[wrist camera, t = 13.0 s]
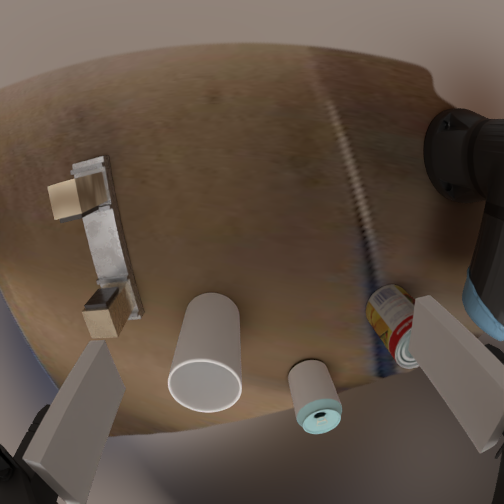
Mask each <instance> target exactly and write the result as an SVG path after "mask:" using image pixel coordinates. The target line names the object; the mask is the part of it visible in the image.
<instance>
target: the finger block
mask: <svg viewBox="0 0 504 504" xmlns="http://www.w3.org/2000/svg"><path fill="white" fill-rule="evenodd" d="M48 191H49V196H50V201H51V206H52V210H53V215H54V219H55V220H56V219H60V223H63V222H68V221H72V220H76V219H81V218H83V217H85V216H87V215H89V214H91V213H93V212H95V211H97V210H99V207H98V205H100V204H102V203H104V202H106V201H108V199H107V194H106V189H105V184H104V178H103V173H102V172H99V173H95V174H91V175H87V176H83V177H79V178H75V179H71V180H68V181H64V182H61V183H58V184H54V185H51V186H48Z"/></svg>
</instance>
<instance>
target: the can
mask: <svg viewBox="0 0 504 504" xmlns="http://www.w3.org/2000/svg"><path fill="white" fill-rule="evenodd" d="M288 381H289V386H290V391H291V395H292V400H293V404H294V409H295V414H296V418H297V422H298V423H299V425H300V426H302V427H303V429H304V430H305V431H306V432H308V433H311V434H321V433H325V432H328V431H330V430H332V429H333V428H335V427H336V426H337V425H338V424H339V422H340V420H341V413H342V406H341V403H340V400H339V398H338V395H337V392H336V390H335V387H334V384H333V382H332V379H331V377H330V374H329V371H328V369H327V367H326V365H325V364H324V363H322V362H320V361H317V360H307V361H303V362H301V363H299V364H297V365H296V366H294V367H293V368H292V369H291V371H290V372H289V375H288Z"/></svg>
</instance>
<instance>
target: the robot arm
mask: <svg viewBox="0 0 504 504" xmlns="http://www.w3.org/2000/svg"><path fill="white" fill-rule="evenodd" d="M424 160H425V166H426V170H427V173H428V176H429V178H430V180H431V182H432V184H433V185H434V187H435V188H436V189H437V191H438V192H439V193H440V194H442V195H443V196H444V197H446V198H448V199H450V200H453V201H456V202H459V203H473V202H478V201H483V200H486V204H485V209H484V213H483V218H482V222H481V227H480V231H479V235H478V239H477V243H476V246H475V250H474V253H473V257H472V260H471V263H470V266H469V267H468V270H467V279H466V282H465V286H464V289H463V293H462V301H463V305H464V307H465V310H466V312H467V314H468V315H469V317H470V318H471V319H472V320H473V322H474V323H475V324H476V325H477V326H478V327H480V328H481V329H482V330H483V331H484V332H486V333H487V334H489V335H490V336H492V337H493V338H495V339H497V340H499V341H502V340H503V341H504V119H488V118H486V117H484V116H481V115H479V114H477V113H475V112H473V111H470V110H467V109H461V108H458V109H448V110H445V111H443V112H441V113H440V114H438V115H437V116H436V117H435V118H434V119H433V121H432V122H431V124H430V126H429V128H428V130H427V133H426V137H425V143H424ZM408 351H409V352H410V353H411V355H412V356H413V357H414V359H415V360H416V362H417V363H418V364H419V366H420V367H421V368H422V370H423V371H424V372H425V374H426V375H427V377H428V378H429V379H430V381H431V382H432V384H433V385H434V386H435V388H436V389H437V391H438V392H439V393H440V395H441V396H442V398H443V399H444V401H445V402H446V403H447V405H448V406H449V408H450V409H451V411H452V412H453V413H454V415H455V417H456V418H457V420H458V421H459V422H460V424H461V425H462V427H463V428H464V430H465V431H466V433H467V434H468V436H469V437H470V439H471V441H472V442H473V444H474V445H475V447H476V448H477V450H478V451H479V453H482V452H484V451H486V450H488V449H489V448H491V447H493V446H494V445H496V443H497V442H498V440H499V439H500V437H501V435H502V434H503V436H504V353H503V352H502V351H501V350H500V349H498V348H496V347H494V346H492V345H490V344H487V345H483V344H482V343H481V342H480V341H479V340H478V339H477V338H476V337H475V336H474V335H473V334H472V333H471V332H470V331H469V330H468V329H467V328H466V327H464V326H463V325H462V324H461V323H460V322H459V321H458V320H457V319H456V318H455V317H454V316H453V315H452V314H450V313H449V312H448V311H447V310H446V309H445V308H444V307H443V306H442V305H440V304H439V303H438V302H437V301H436V300H435V299H434V298H433V297H432V296H430V295H428V296H424V297H419V298H415V307H414V315H413V322H412V329H411V336H410V342H409V348H408ZM125 389H126V388H125V386H124V384H123V382H122V379H121V377H120V375H119V373H118V371H117V368H116V366H115V364H114V361H113V359H112V357H111V354H110V352H109V349H108V347H107V344H106V342H105V340H99V341H90V342H89V343H88V345H87V346H86V348H85V349H84V351H83V353H82V354H81V356H80V357H79V359H78V361H77V362H76V364H75V365H74V367H73V369H72V370H71V372H70V373H69V375H68V377H67V378H66V380H65V382H64V383H63V385H62V387H61V388H60V390H59V392H58V394H57V395H56V397H55V399H54V401H53V402H52V404H51V405H46V406H45V407H44V408H42V409H41V410H40V411H39V412H38V414H37V415H36V417H35V419H34V421H33V424H31V426H30V427H29V429H28V432H27V433H26V435H25V436H24V438H23V440H22V442H21V444H20V446H19V448H18V449H17V451H16V453H15V455H14V457H12V456H11V455H10V454H9V453H8V452H7V450H6V449H5V448H4V447H3V446H2V445H1V444H0V504H58V503H57V502H56V501H57V498H58V496H59V497H61V498H62V499H63V500H64V501H65V502H66V503H67V504H86V502H87V498H88V495H89V492H90V489H91V486H92V482H93V479H94V476H95V473H96V470H97V467H98V464H99V461H100V458H101V455H102V452H103V449H104V446H105V443H106V441H107V438H108V435H109V432H110V429H111V426H112V424H113V421H114V418H115V415H116V413H117V410H118V407H119V405H120V402H121V399H122V397H123V394H124V392H125ZM501 452H502V456H501V462H500V468H499V473H498V479H497V483H496V488H495V492H494V497H493V501H492V504H504V443H503V445H502V446H501V448H500V449H499V451H498V452H497V454H496V456H495V458H496V459H497V458H498V457H499V455H500V454H501Z"/></svg>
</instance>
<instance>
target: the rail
mask: <svg viewBox="0 0 504 504" xmlns="http://www.w3.org/2000/svg"><path fill="white" fill-rule="evenodd" d="M72 166H73V170H72V171H71V175H74V178H79V177H83V176H87V175H91V174H95V173H99V172H102V173H103V178H104V184H105V189H106V194H107V199H108V201H106V202H104V203H102V204H100V205H98V207H99V210H97V211H95V212H93V213H91V214H89V215H87V216H85V217H83V222H84V226H85V231H86V235H87V239H88V243H89V247H90V251H91V254H92V258H93V262H94V265H95V269H96V272H97V276H98V279H97V285H98V284H100V286H101V289H98V290H97V291H96V292H95V293H94V295H93V296H92V297H91V298H90V299H89V300H88V302H87V303H86V304H85V305H84V306H85V308H84V310H83V311H82V314H83V316H84V319H85V322H86V324H87V327H88V330H89V332H90V335H91V337H92V338H109V337H118V336H119V334H120V332H121V331H122V329H123V327H124V325H125V323H126V322H127V320H133V319H141V318H142V316H143V314H144V310H143V306H142V303H141V299H140V296H139V292H138V289H137V285H136V282H135V278H134V274H133V270H132V266H131V263H130V259H129V255H128V250H127V246H126V242H125V238H124V233H123V229H122V224H121V220H120V215H119V210H118V205H117V200H116V195H115V190H114V184H113V179H112V173H111V167H110V161H109V156H102V157H98V158H94V159H90V160H87V161H83V162H80V163H76V164H73V165H72Z"/></svg>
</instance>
